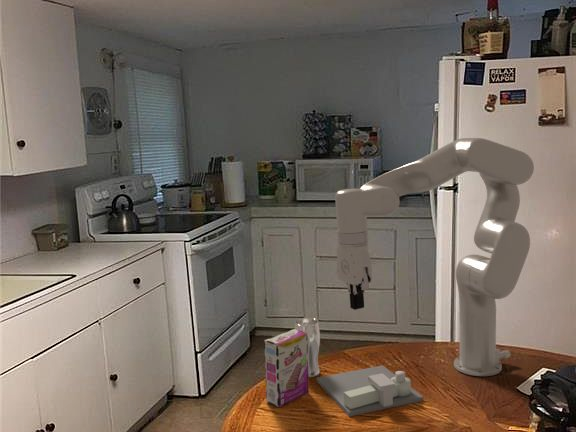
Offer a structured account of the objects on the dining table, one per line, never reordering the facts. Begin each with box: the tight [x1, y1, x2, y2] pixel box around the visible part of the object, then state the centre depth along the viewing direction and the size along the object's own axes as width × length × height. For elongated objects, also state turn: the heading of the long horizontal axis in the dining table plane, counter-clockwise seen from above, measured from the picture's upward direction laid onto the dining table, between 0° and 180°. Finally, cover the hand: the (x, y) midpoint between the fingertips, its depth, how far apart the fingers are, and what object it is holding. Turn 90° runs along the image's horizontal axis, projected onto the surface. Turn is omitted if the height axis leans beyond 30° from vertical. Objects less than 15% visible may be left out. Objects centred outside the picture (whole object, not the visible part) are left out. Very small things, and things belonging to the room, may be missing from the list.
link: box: [344, 370, 412, 409], centre depth 137 cm, size 18×5×5 cm, turn 115°
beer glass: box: [294, 317, 321, 378], centre depth 156 cm, size 7×7×15 cm
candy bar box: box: [264, 328, 310, 408], centre depth 142 cm, size 11×5×16 cm, turn 136°
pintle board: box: [316, 365, 424, 417], centre depth 144 cm, size 20×22×6 cm
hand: (357, 307), depth 144 cm, fingers closed
